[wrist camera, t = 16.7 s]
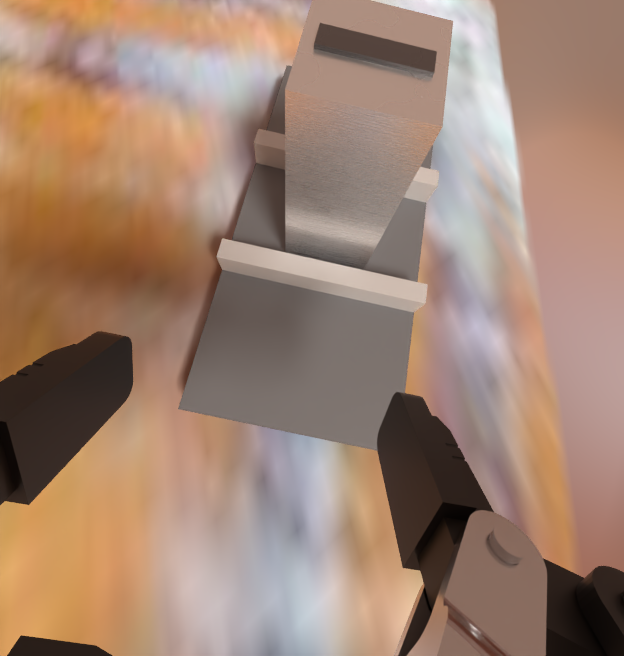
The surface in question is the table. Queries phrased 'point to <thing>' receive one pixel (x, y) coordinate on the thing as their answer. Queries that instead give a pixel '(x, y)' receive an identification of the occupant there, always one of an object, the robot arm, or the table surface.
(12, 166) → the table surface
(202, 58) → the table surface
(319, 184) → the block
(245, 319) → the plate
